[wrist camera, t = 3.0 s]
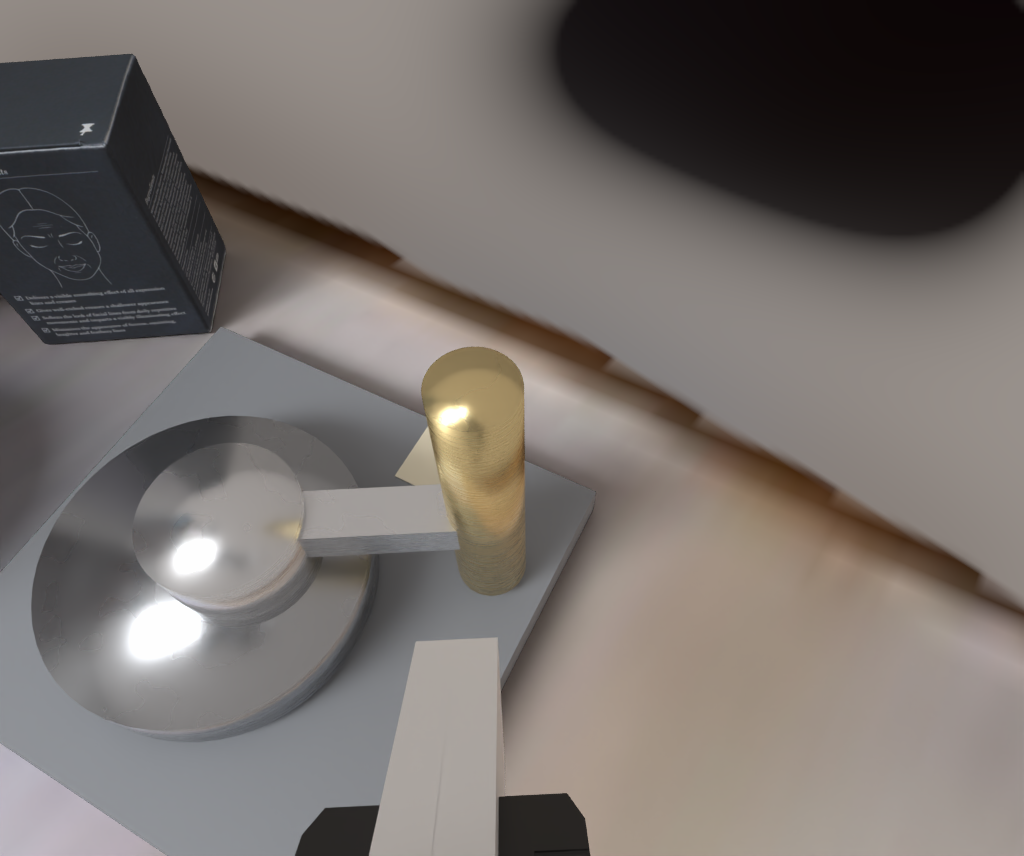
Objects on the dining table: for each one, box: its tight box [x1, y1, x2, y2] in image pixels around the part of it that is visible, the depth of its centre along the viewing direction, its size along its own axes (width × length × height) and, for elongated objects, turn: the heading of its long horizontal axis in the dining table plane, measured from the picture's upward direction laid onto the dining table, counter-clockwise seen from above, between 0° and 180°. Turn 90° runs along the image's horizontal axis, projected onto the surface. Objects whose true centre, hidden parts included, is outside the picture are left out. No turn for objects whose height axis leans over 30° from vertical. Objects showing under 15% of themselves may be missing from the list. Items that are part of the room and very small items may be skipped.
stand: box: [0, 327, 596, 856], centre depth 28 cm, size 18×17×2 cm
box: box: [0, 54, 226, 344], centre depth 33 cm, size 8×6×11 cm
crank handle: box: [31, 347, 526, 742], centre depth 23 cm, size 16×11×11 cm
